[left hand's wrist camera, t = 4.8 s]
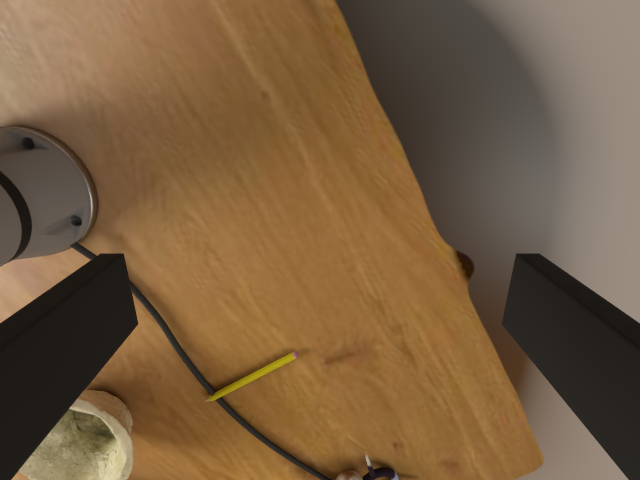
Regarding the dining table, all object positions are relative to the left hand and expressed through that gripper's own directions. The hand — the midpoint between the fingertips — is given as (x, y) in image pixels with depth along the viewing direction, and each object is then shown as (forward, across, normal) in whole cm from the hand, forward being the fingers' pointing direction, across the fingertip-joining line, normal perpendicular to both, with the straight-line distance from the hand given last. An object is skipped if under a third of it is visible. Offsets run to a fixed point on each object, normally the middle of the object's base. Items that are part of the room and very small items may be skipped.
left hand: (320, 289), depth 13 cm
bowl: (+32, +34, +38) cm, 60 cm away
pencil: (+32, +10, +32) cm, 47 cm away
